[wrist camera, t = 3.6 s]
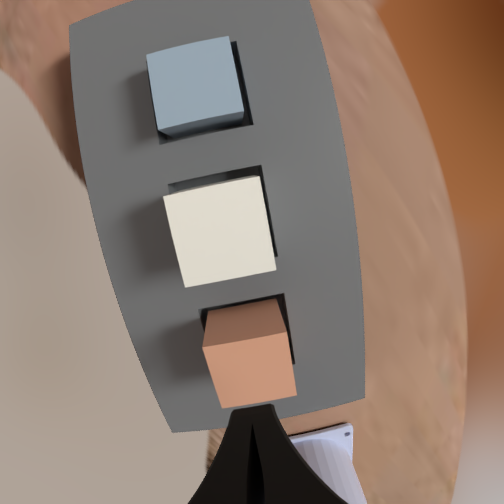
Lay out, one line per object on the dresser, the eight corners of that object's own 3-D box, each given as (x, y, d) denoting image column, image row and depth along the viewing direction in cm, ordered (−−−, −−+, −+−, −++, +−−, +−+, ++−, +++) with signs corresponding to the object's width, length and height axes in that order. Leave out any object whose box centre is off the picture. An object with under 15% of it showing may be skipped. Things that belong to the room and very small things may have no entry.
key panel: (350, 371, 20) (364, 397, 17) (178, 403, 20) (172, 432, 17) (290, -2, 14) (300, -27, 11) (90, 42, 14) (69, 25, 11)
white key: (267, 247, 15) (276, 270, 12) (195, 261, 15) (185, 287, 12) (253, 175, 14) (259, 176, 11) (179, 190, 14) (163, 196, 11)
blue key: (241, 124, 15) (244, 111, 11) (174, 138, 15) (158, 129, 11) (229, 62, 14) (228, 35, 11) (163, 77, 14) (146, 54, 11)
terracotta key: (285, 354, 17) (297, 395, 13) (223, 366, 17) (222, 408, 13) (275, 298, 16) (287, 331, 12) (208, 310, 16) (202, 347, 12)
